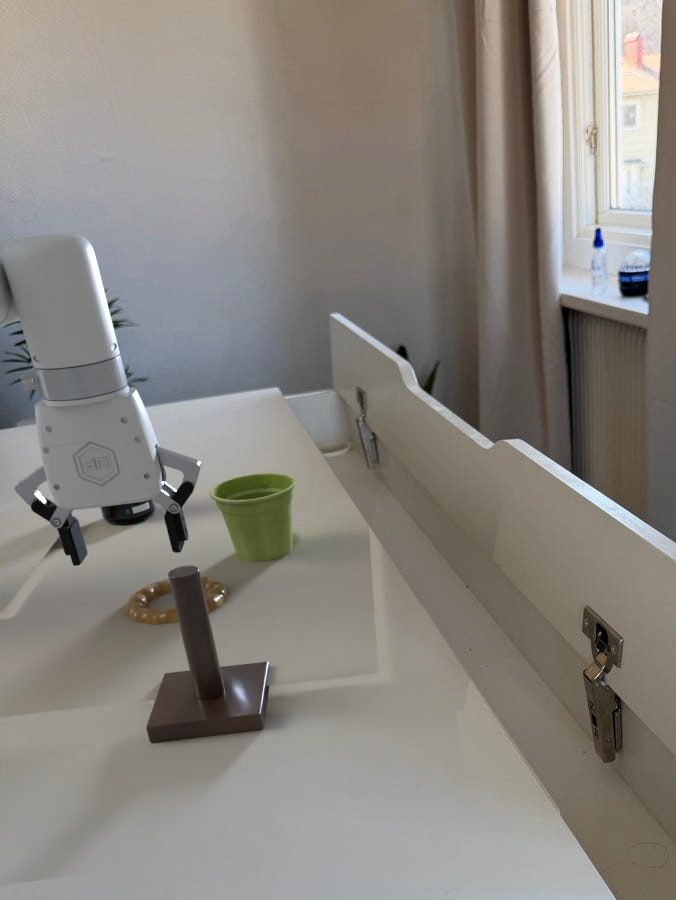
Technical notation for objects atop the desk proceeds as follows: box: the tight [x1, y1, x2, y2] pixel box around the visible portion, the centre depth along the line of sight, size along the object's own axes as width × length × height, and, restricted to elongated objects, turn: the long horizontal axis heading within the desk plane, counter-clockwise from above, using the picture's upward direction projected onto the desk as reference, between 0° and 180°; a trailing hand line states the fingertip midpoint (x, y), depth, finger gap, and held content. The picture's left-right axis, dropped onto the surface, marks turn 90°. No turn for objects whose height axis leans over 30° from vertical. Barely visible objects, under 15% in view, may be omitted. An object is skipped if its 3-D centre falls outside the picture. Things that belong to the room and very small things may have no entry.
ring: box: [124, 576, 228, 626], centre depth 100 cm, size 10×10×2 cm
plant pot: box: [209, 472, 297, 563], centre depth 110 cm, size 9×9×9 cm
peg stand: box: [145, 565, 270, 743], centre depth 79 cm, size 9×9×12 cm
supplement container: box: [100, 499, 156, 525], centre depth 125 cm, size 7×7×10 cm
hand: (130, 554), depth 97 cm, fingers open, 9 cm apart
